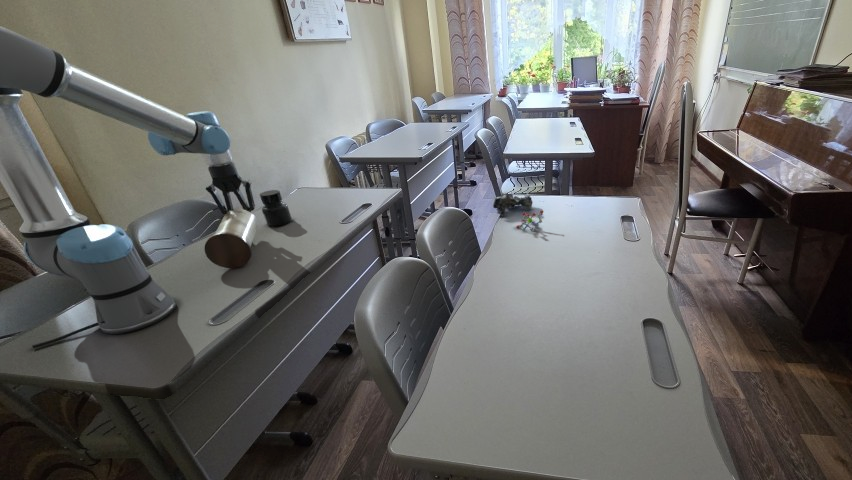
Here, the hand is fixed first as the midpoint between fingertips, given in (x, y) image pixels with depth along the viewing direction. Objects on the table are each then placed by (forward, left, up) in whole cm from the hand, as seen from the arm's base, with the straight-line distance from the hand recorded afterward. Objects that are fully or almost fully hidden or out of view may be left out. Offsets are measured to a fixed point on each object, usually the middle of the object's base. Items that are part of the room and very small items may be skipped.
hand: (247, 230), depth 140 cm
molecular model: (+94, -33, -4) cm, 100 cm away
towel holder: (0, -9, -2) cm, 9 cm away
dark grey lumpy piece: (+95, -15, -4) cm, 96 cm away
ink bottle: (+8, +14, -4) cm, 16 cm away
